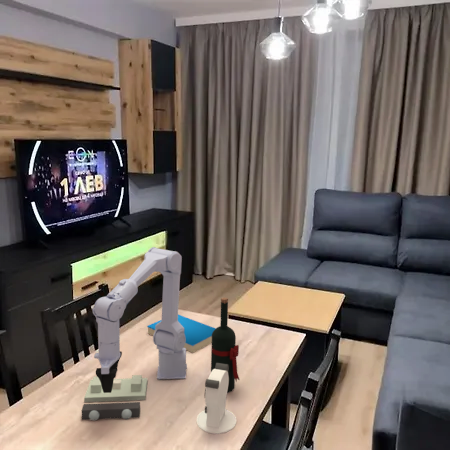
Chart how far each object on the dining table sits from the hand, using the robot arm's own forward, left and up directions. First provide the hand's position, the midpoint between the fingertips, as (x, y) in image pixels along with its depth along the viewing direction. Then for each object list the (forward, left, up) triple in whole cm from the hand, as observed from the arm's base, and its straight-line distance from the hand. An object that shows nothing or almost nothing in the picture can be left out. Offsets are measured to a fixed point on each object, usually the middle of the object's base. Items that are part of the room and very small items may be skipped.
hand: (109, 384), depth 126 cm
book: (-21, -50, -10) cm, 55 cm away
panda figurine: (-30, +4, -10) cm, 32 cm away
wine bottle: (-34, -12, -10) cm, 38 cm away
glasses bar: (0, 0, -10) cm, 10 cm away
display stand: (0, -12, -10) cm, 15 cm away
